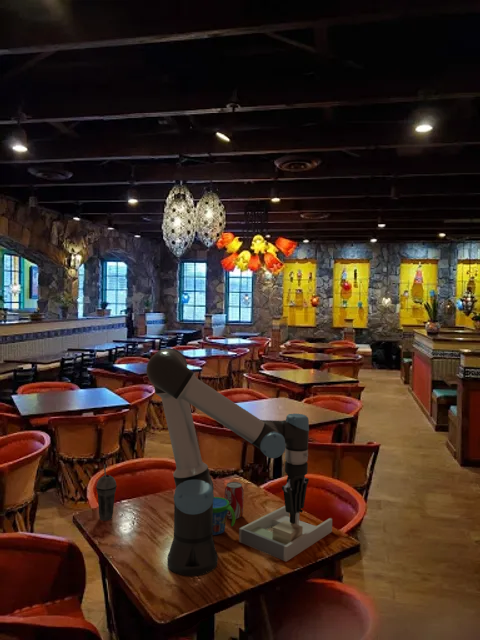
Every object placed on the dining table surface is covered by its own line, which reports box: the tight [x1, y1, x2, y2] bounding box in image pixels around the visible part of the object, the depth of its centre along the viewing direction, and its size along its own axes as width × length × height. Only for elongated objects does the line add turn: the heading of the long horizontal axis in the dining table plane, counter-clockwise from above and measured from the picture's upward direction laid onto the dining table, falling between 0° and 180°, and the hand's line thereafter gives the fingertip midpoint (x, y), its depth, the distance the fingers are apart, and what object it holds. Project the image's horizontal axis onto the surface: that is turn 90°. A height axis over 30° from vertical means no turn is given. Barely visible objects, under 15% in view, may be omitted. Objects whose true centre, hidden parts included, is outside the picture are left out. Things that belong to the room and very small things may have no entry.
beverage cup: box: [95, 464, 118, 522], centre depth 179 cm, size 7×7×20 cm
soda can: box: [224, 481, 245, 520], centre depth 183 cm, size 7×7×12 cm
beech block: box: [272, 521, 303, 544], centre depth 161 cm, size 7×7×4 cm
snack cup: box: [212, 496, 236, 536], centre depth 171 cm, size 16×10×10 cm
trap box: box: [238, 505, 333, 562], centre depth 168 cm, size 28×19×4 cm
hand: (294, 531), depth 164 cm, fingers closed
